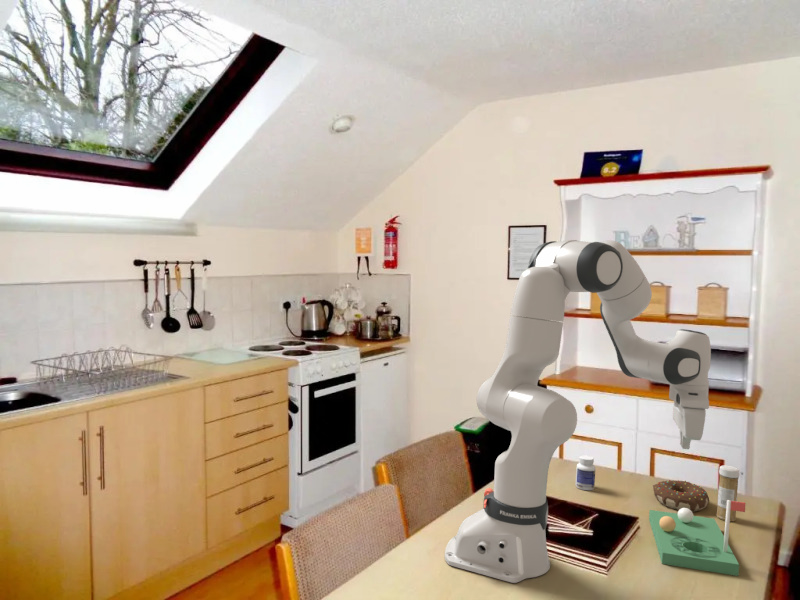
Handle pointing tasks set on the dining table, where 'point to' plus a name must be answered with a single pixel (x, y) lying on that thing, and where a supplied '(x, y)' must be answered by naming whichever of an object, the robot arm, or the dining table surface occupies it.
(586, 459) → the pill bottle
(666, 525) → the orange ball
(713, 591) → the dining table surface
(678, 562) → the putting mat
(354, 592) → the dining table surface
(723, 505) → the sprinkles bottle
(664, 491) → the donut
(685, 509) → the white ball
